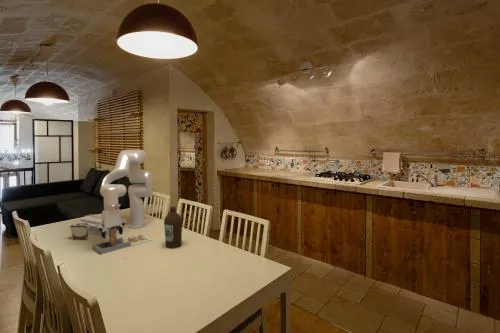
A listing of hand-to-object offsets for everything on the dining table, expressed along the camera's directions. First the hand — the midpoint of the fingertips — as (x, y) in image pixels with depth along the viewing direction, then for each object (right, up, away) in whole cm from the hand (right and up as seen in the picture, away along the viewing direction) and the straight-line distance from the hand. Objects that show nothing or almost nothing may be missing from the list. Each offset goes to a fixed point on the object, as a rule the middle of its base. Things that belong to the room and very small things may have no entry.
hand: (112, 236), depth 166 cm
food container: (-29, -7, +19) cm, 35 cm away
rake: (0, -7, +1) cm, 7 cm away
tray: (+9, -7, +12) cm, 17 cm away
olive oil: (+34, -8, +7) cm, 36 cm away
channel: (0, -8, 0) cm, 8 cm away
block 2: (+11, -6, +13) cm, 18 cm away
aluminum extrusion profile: (-25, -6, +34) cm, 43 cm away
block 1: (+8, -7, +10) cm, 14 cm away
